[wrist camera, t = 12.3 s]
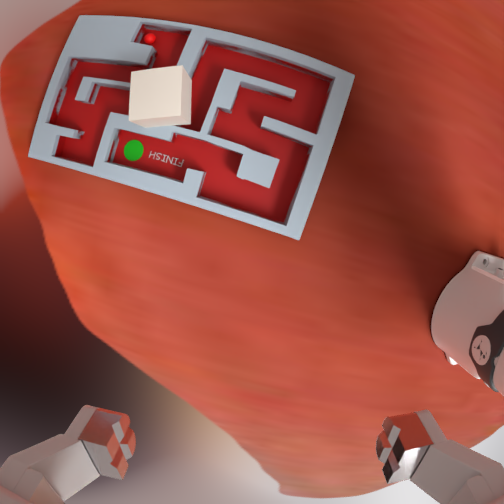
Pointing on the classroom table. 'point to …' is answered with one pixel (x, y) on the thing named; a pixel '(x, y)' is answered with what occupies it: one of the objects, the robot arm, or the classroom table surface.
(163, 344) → the classroom table surface
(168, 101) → the cream cube
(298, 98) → the maze game
